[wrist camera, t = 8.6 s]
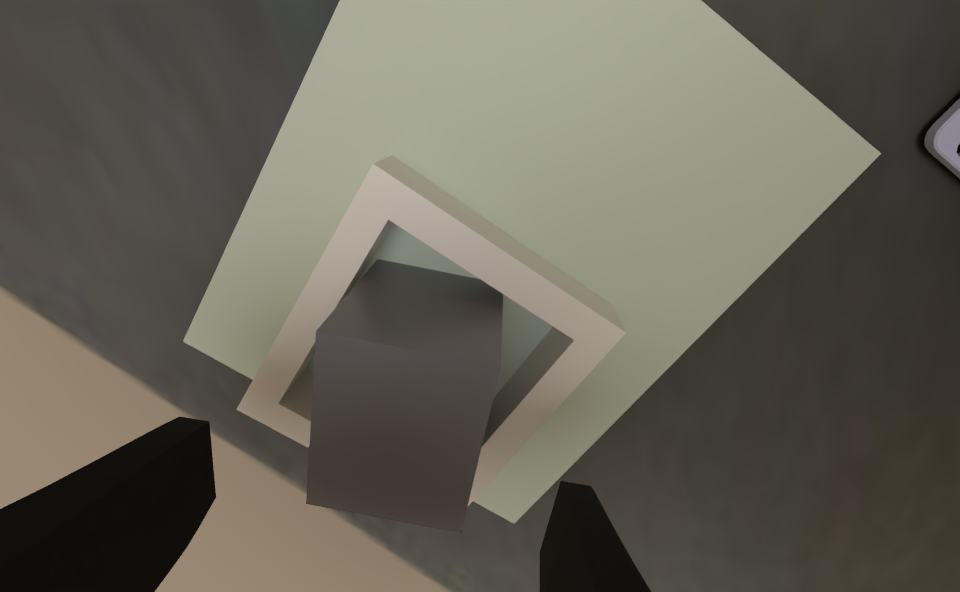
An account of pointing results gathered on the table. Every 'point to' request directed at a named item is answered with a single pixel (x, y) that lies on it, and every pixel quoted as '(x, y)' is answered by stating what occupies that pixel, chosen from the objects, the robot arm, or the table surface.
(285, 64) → the table surface
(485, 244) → the beige open frame
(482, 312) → the plug
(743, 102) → the board
